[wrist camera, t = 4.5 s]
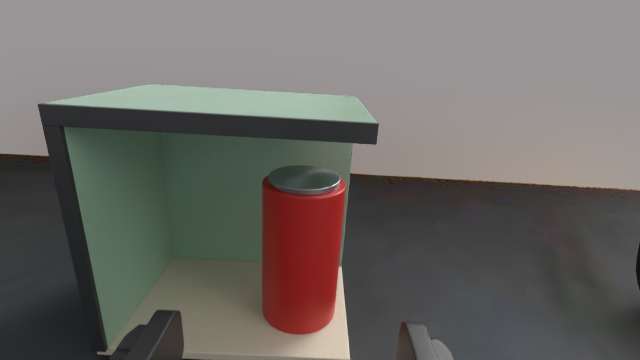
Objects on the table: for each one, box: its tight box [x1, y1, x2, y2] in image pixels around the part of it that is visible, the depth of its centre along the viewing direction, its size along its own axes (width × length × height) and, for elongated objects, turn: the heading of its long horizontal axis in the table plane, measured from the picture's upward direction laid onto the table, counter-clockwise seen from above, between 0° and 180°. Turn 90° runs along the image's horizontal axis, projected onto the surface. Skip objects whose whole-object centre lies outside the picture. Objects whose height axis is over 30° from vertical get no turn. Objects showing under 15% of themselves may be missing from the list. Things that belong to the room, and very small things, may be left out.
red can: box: [262, 165, 346, 334], centre depth 24 cm, size 5×5×10 cm
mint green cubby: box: [38, 84, 379, 360], centre depth 24 cm, size 11×16×16 cm
